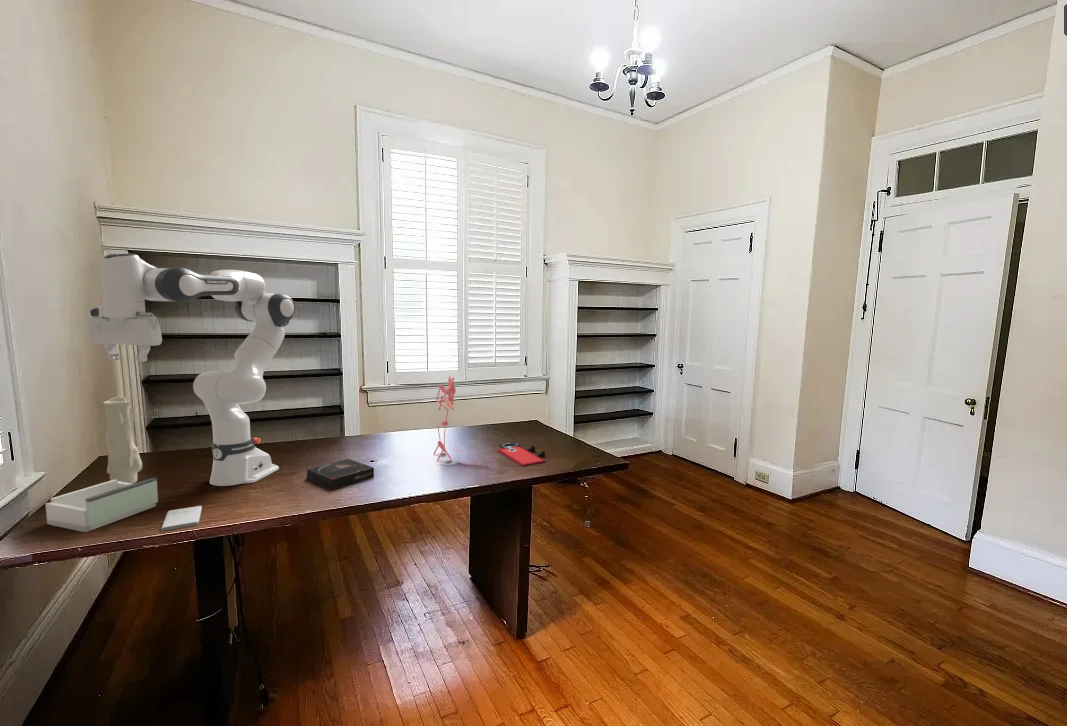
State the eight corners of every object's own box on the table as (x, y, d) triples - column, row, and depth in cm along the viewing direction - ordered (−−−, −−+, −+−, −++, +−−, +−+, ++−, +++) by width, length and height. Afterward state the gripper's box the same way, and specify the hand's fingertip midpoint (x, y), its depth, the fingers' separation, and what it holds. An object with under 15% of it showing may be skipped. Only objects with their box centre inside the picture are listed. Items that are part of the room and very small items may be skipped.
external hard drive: (161, 533, 125) (168, 515, 135) (198, 526, 129) (202, 510, 140) (161, 527, 125) (167, 510, 135) (198, 521, 129) (201, 505, 140)
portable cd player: (347, 468, 180) (347, 458, 180) (373, 478, 170) (373, 467, 170) (306, 479, 167) (306, 469, 166) (332, 491, 157) (332, 479, 157)
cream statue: (116, 480, 159) (110, 396, 156) (146, 477, 163) (141, 395, 160) (104, 489, 152) (97, 400, 148) (136, 486, 155) (130, 399, 152)
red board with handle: (518, 443, 220) (490, 448, 212) (518, 437, 220) (490, 442, 212) (552, 462, 195) (522, 468, 187) (552, 456, 194) (522, 461, 187)
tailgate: (155, 501, 140) (153, 477, 139) (158, 501, 139) (156, 477, 139) (87, 525, 123) (85, 498, 122) (91, 526, 123) (88, 499, 122)
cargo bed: (120, 499, 144) (119, 478, 143) (156, 506, 140) (154, 484, 140) (47, 524, 127) (45, 500, 126) (85, 532, 123) (83, 507, 122)
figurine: (438, 467, 182) (441, 380, 179) (428, 449, 206) (430, 372, 203) (475, 464, 188) (479, 380, 185) (462, 447, 212) (464, 372, 208)
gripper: (167, 312, 129) (169, 361, 131) (107, 310, 133) (110, 358, 134) (144, 312, 123) (147, 363, 125) (82, 310, 127) (86, 360, 128)
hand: (128, 360), depth 129 cm, fingers open, 8 cm apart
